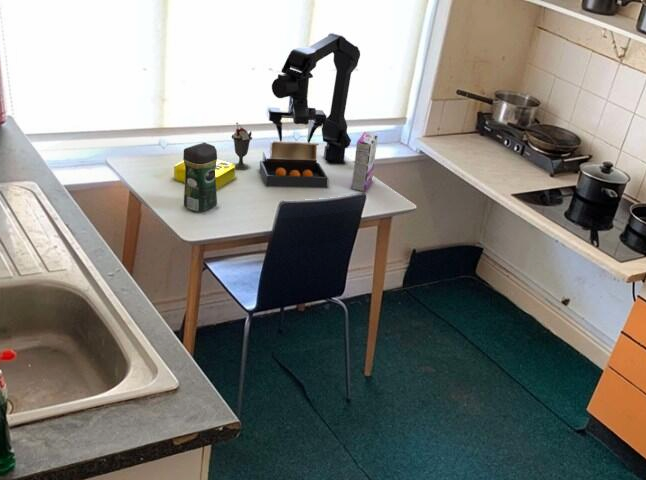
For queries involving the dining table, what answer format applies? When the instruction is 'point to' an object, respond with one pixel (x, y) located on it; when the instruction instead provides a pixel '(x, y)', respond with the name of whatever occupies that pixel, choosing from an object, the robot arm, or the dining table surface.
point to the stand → (267, 158)
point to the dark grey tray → (271, 179)
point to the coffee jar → (200, 177)
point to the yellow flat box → (223, 172)
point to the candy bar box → (364, 161)
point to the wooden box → (293, 150)
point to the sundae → (241, 146)
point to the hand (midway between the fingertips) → (294, 142)
